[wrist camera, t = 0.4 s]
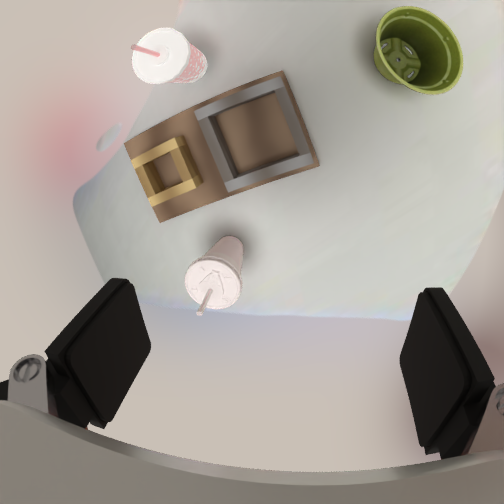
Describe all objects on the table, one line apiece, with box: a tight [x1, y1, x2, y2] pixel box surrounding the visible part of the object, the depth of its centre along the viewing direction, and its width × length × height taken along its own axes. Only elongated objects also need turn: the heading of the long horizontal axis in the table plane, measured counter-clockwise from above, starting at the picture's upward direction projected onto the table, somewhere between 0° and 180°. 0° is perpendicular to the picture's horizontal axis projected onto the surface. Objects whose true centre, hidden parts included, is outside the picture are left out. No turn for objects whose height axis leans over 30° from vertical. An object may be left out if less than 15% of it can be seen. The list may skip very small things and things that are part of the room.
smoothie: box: [185, 236, 244, 316], centre depth 35 cm, size 6×6×14 cm
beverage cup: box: [131, 28, 208, 84], centre depth 25 cm, size 6×6×14 cm
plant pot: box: [374, 6, 463, 95], centre depth 24 cm, size 9×9×9 cm
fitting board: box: [124, 71, 320, 223], centre depth 34 cm, size 22×12×4 cm, turn 112°
